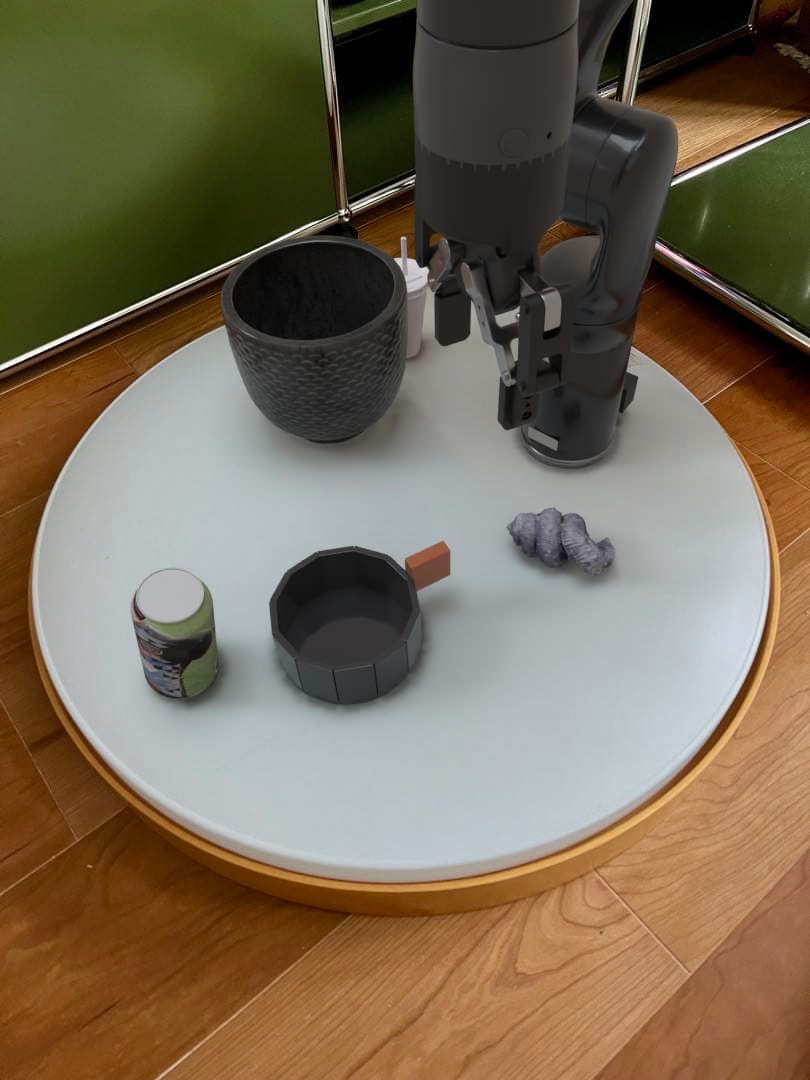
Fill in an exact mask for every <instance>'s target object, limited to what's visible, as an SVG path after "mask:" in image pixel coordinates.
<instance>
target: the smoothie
mask: <svg viewBox="0 0 810 1080" xmlns="http://www.w3.org/2000/svg"><path fill="white" fill-rule="evenodd" d="M407 247H408V246H407V237H406V236H401V237H400V250H401V251H400V253H401V255H400V256H401V257H395V258H393V259H394V260H395V261H396V262H397V264H398V265H399V266H400V268H401V270H402V272H403V274H404V276H405V280H406V285H407V293H408V341H407V354H406V360H408V359H411V358H414V357H416V355H417V354H419V352H420V350H421V349H420V348H421V342H422V335H423V334H422V333H423V326H424V317H425V310H426V300H427V293H428V290H429V289H430V287H429V286H428V282H427V281H428V280H427V275H428V273H429V269H428V267H424V268H420V267H419V266H418V264H417V262H416V260H415V258H414V259H412V258H408V249H407Z"/></svg>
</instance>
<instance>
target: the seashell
mask: <svg viewBox="0 0 810 1080" xmlns="http://www.w3.org/2000/svg"><path fill="white" fill-rule="evenodd" d="M562 513H563V512H562V511H559V510H558V509H556V507H555V506H554V507H548V508H544V509H543V510H541V512H539V513H534V512H527V513H525V512H520V513H518V514H517V515H515V517H514V520H512V521H511V522H509V523H508V524H507V525H506V526H505V528H506V529H507V531H508V533H509V535H510V536H511V537H512V540H513V543H514V544H515V546H518V547H519V548H520V549H521V552H522V553H523V554H524V555H526V556H527V557H529V558H530V559H531V558H532V559H534V558H536V559H539V560H540V562H541V563H542V564H543V565H544V566H546V567H549V568H551V569H555V568H562V567H563V566H564V565H566V564H567V563H568V562H569V561H570V559H571V560H573V562H574V563H576V564H577V566H579V568H581V570H582V571H584V573H587V574H588V575H589V576H591V577H595V576H598V575H599V574H603V573H605V572H606V571H607V570H608V569H609V568H610V567H612V565H613V562H614V561H615V559H616V547H615V546H614V545H613V544H612V542H611V539H610V538H609V537H604V538H603V539H601V541H599V542H597V543H596V541H594V540H593V538H591V536H590V534H589V532H588V530H587V525H586V524H587V523H586V522H585V519H584V517H583V516H581V515H580V514H579V513H577V512H569V513H565V514H562Z"/></svg>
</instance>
